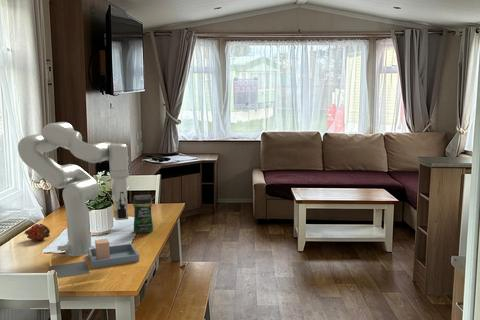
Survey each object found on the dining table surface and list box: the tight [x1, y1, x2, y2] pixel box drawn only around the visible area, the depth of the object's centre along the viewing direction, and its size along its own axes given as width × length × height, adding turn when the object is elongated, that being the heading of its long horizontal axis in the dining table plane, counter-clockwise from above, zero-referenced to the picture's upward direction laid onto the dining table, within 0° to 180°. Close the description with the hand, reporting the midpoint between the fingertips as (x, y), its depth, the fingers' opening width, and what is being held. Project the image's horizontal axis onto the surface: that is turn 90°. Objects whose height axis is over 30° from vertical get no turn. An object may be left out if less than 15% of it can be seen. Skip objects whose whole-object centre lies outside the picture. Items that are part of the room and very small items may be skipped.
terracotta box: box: [94, 238, 110, 260], centre depth 203 cm, size 5×5×8 cm
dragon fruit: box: [24, 223, 51, 242], centre depth 231 cm, size 8×8×12 cm
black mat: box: [49, 260, 90, 279], centre depth 193 cm, size 14×14×1 cm
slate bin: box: [87, 242, 140, 269], centre depth 205 cm, size 19×16×4 cm
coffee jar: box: [132, 194, 154, 234], centre depth 243 cm, size 10×8×19 cm
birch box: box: [112, 199, 129, 221], centre depth 204 cm, size 5×5×8 cm
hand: (120, 215), depth 204 cm, fingers closed on birch box, 5 cm apart
